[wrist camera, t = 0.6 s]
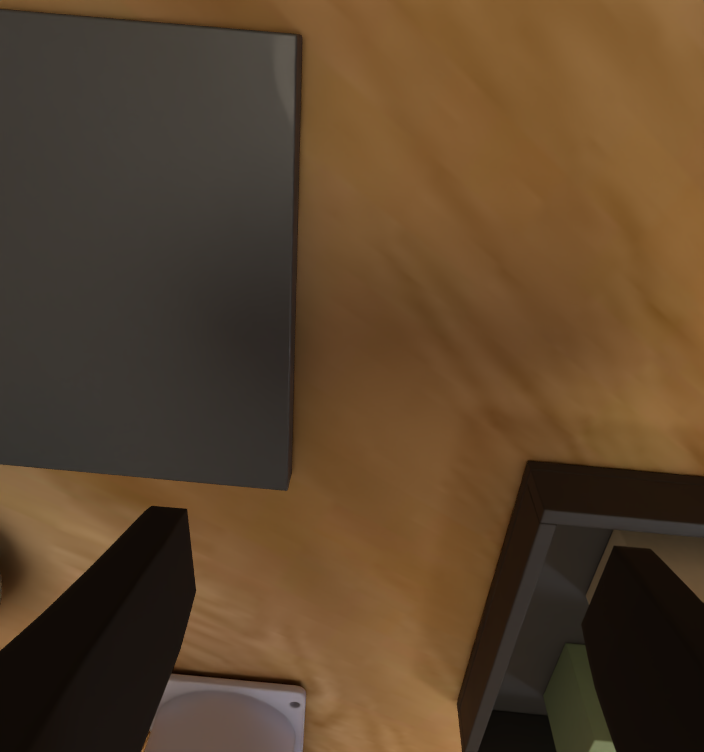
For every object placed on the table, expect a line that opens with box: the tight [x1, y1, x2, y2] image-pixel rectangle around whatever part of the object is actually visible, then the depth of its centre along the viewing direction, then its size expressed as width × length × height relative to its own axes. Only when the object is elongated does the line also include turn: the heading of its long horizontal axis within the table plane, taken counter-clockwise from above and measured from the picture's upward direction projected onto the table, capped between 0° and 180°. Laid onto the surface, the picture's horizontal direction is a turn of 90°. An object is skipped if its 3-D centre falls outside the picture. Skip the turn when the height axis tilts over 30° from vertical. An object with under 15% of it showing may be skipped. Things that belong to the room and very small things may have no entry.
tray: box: [457, 461, 704, 752], centre depth 23 cm, size 15×11×2 cm
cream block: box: [586, 530, 704, 604], centre depth 20 cm, size 4×4×4 cm
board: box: [0, 9, 302, 491], centre depth 17 cm, size 14×12×1 cm
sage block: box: [543, 643, 616, 752], centre depth 24 cm, size 4×4×4 cm
